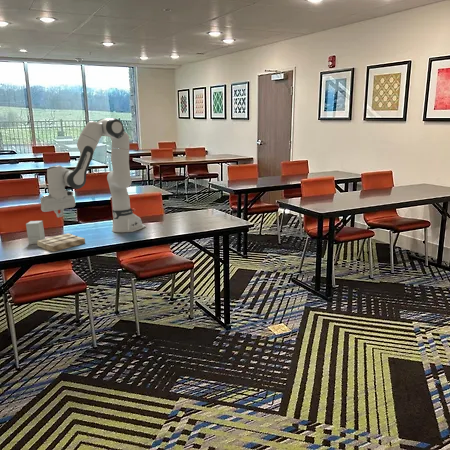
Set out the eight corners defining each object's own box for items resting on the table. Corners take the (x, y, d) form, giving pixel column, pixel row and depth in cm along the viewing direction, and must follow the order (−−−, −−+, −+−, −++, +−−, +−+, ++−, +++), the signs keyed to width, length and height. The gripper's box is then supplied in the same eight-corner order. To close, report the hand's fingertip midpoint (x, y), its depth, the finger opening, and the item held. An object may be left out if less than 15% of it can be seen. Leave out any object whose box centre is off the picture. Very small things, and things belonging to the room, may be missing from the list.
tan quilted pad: (68, 237, 256) (68, 232, 255) (76, 241, 251) (76, 235, 250) (37, 245, 241) (37, 240, 240) (45, 249, 236) (45, 243, 235)
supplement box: (45, 240, 255) (43, 220, 252) (41, 243, 247) (38, 223, 244) (33, 240, 254) (30, 220, 251) (28, 244, 247) (25, 223, 244)
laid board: (77, 241, 251) (76, 235, 250) (85, 243, 246) (84, 237, 245) (46, 249, 236) (45, 243, 235) (53, 251, 231) (53, 245, 230)
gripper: (43, 196, 233) (45, 220, 236) (75, 191, 248) (77, 214, 252) (37, 195, 237) (40, 219, 240) (69, 191, 252) (72, 213, 255)
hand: (59, 216), depth 246 cm, fingers closed
